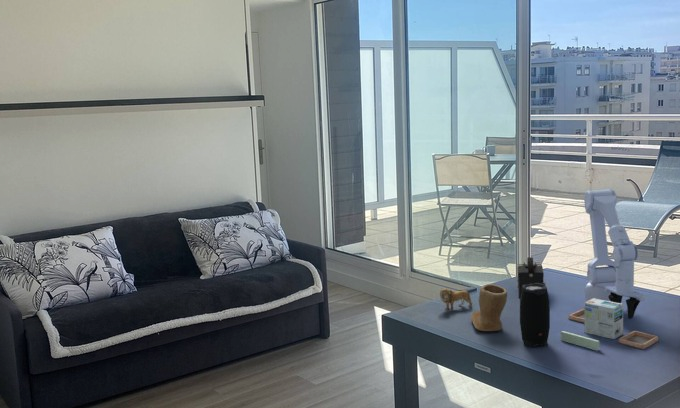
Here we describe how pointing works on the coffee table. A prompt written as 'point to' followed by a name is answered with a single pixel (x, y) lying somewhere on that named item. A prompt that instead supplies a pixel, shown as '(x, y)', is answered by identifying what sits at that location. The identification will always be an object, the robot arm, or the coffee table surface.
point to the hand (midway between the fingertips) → (624, 316)
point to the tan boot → (490, 308)
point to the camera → (529, 274)
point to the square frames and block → (630, 339)
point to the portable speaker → (534, 314)
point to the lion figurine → (454, 297)
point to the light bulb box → (604, 318)
